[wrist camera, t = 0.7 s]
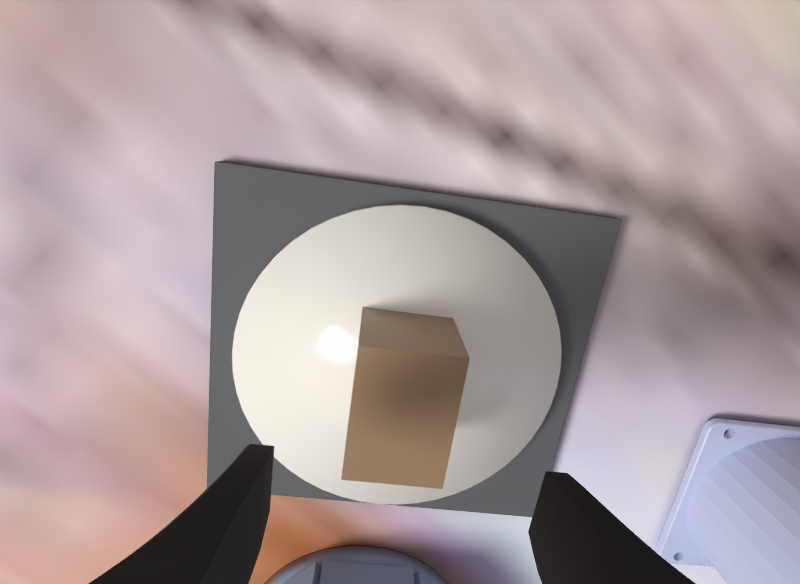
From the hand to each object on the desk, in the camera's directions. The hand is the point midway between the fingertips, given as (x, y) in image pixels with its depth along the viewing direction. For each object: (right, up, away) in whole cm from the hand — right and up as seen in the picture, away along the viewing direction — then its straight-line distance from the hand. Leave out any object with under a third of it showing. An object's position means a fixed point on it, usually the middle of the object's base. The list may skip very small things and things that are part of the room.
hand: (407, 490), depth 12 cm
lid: (0, +2, +7) cm, 7 cm away
